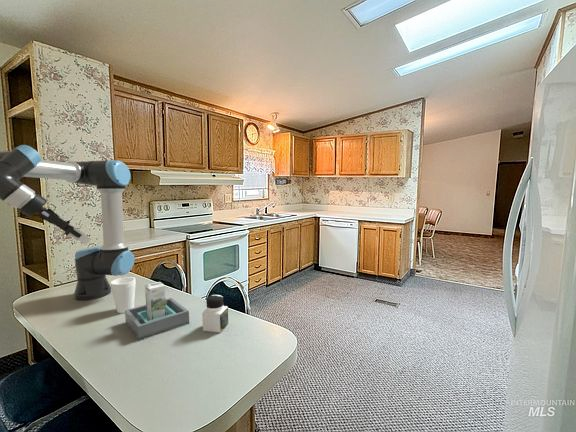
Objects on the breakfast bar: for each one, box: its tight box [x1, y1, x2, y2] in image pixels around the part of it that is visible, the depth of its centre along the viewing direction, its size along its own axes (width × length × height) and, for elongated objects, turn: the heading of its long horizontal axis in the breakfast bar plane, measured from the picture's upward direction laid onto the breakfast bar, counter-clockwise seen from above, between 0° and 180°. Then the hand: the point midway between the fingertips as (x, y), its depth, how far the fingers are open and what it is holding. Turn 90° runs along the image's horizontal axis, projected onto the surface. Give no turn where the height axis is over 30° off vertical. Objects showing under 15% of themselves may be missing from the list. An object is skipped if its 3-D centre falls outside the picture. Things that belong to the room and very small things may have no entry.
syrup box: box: [144, 281, 167, 321], centre depth 115 cm, size 6×6×14 cm
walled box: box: [124, 297, 190, 341], centre depth 116 cm, size 18×18×5 cm
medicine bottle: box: [201, 294, 229, 334], centre depth 111 cm, size 7×7×12 cm
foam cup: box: [109, 276, 137, 314], centre depth 128 cm, size 10×9×13 cm
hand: (85, 239), depth 111 cm, fingers open, 13 cm apart
